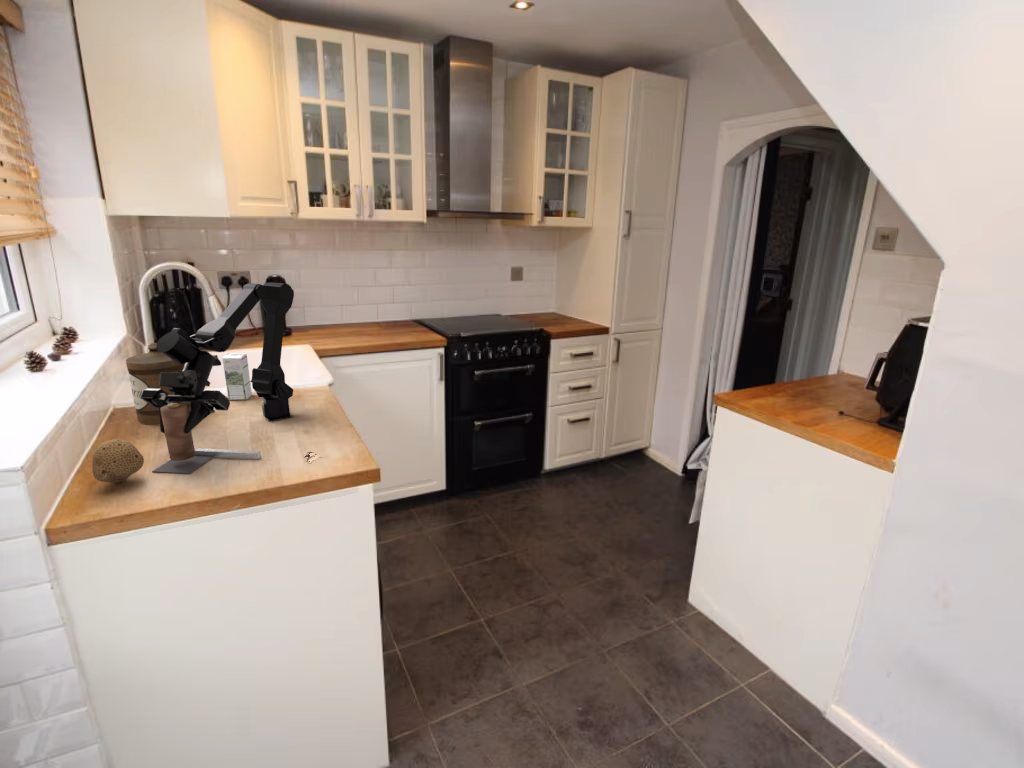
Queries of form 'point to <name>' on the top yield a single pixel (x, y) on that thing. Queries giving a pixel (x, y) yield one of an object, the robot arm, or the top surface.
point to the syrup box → (237, 376)
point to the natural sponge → (116, 461)
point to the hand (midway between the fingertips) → (174, 432)
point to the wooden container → (150, 381)
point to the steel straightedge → (228, 453)
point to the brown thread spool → (177, 431)
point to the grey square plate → (183, 465)
